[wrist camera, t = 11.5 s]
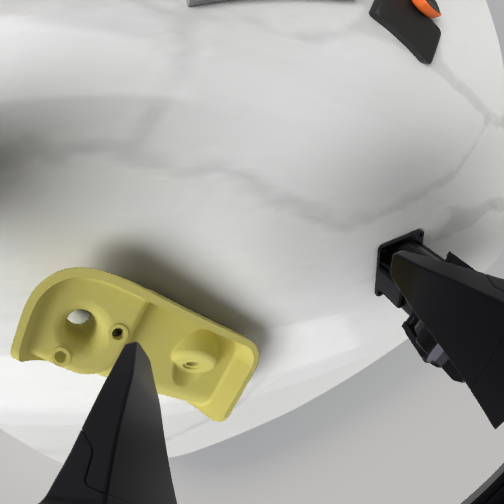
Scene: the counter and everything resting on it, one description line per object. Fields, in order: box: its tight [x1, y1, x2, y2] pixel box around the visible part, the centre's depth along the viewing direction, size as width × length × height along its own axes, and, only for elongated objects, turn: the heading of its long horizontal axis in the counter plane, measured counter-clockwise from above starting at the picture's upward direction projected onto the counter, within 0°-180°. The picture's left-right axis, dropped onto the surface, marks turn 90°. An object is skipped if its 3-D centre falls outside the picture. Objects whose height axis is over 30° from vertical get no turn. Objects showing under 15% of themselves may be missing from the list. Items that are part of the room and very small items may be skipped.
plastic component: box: [11, 268, 259, 422], centre depth 22 cm, size 20×7×10 cm
